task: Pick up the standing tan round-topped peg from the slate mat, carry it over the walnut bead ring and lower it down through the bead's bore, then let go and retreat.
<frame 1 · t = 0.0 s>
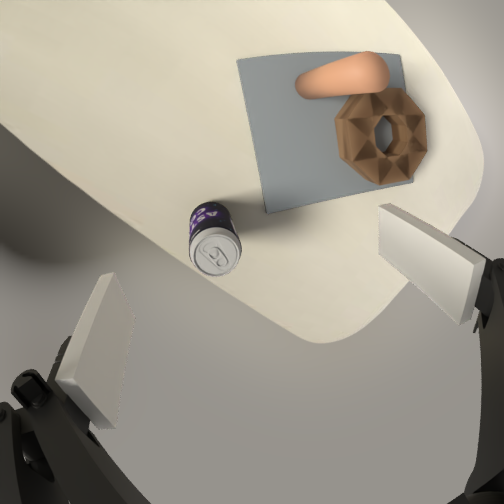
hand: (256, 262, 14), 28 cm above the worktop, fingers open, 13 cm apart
mat: (339, 123, 39), on the worktop
tan round-topped peg: (308, 85, 35), point 1 cm above the worktop, touching mat
bead: (376, 133, 40), resting on mat
beverage can: (210, 219, 42), on the worktop
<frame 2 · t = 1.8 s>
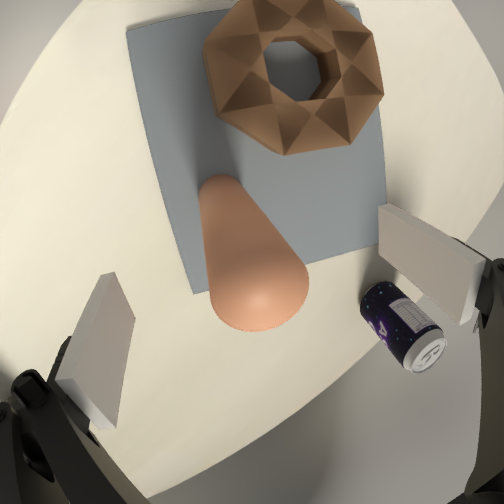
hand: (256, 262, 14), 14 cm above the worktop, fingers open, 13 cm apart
mat: (276, 138, 25), on the worktop
tan round-topped peg: (221, 196, 26), point 1 cm above the worktop, touching mat
bead: (287, 71, 22), resting on mat
beverage can: (374, 296, 36), on the worktop
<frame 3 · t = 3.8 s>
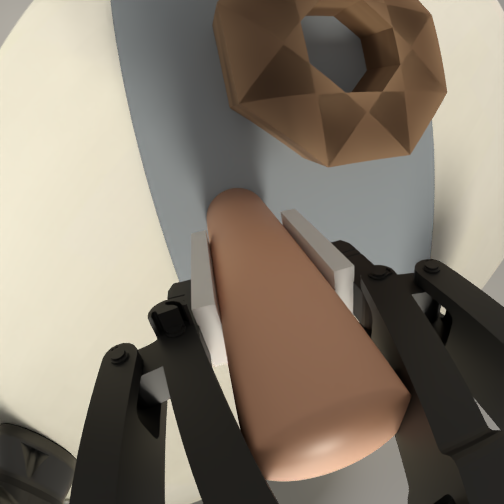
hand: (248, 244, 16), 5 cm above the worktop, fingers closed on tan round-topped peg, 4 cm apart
mat: (310, 140, 19), on the worktop
tan round-topped peg: (236, 217, 20), point 1 cm above the worktop, touching gripper, mat
bead: (326, 54, 16), resting on mat
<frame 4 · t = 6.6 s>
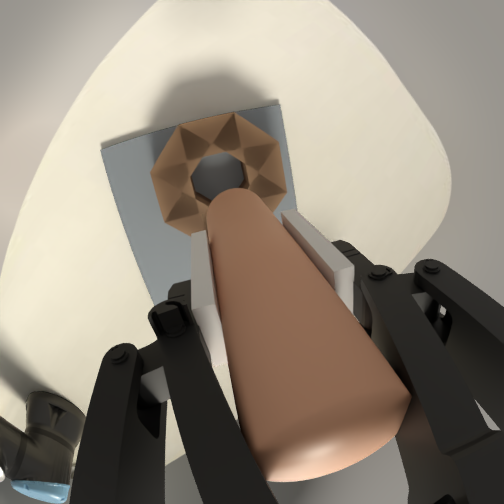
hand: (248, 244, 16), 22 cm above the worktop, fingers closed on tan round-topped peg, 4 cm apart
mat: (212, 223, 38), on the worktop
tan round-topped peg: (236, 217, 20), point 17 cm above the worktop, touching gripper
bead: (217, 175, 35), resting on mat
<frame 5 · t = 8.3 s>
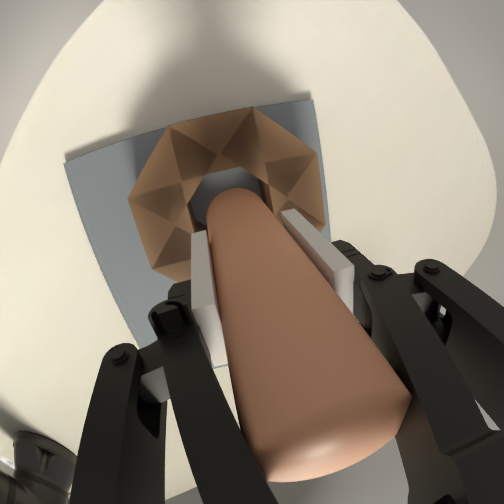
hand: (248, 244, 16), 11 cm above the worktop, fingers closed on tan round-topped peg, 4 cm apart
mat: (218, 261, 28), on the worktop
tan round-topped peg: (236, 217, 20), point 6 cm above the worktop, touching gripper
bead: (225, 197, 25), resting on mat
when the fingers open (7 cm above the worktop, at t = 9.8 s): tan round-topped peg drops 1 cm, resting on mat.
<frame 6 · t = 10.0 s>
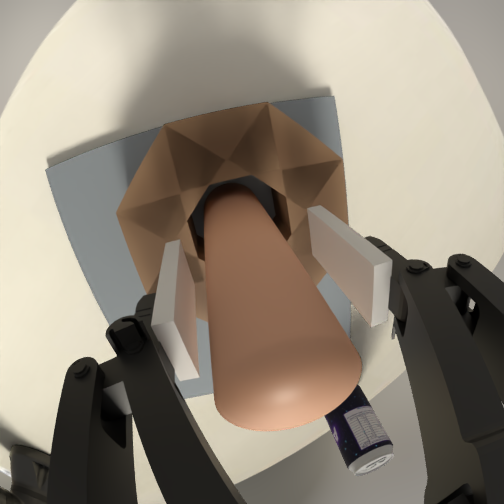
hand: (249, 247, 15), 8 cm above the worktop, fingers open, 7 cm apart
mat: (223, 281, 24), on the worktop
tan round-topped peg: (231, 209, 21), point 1 cm above the worktop, touching mat
bead: (233, 208, 21), resting on mat
beverage can: (337, 391, 35), on the worktop
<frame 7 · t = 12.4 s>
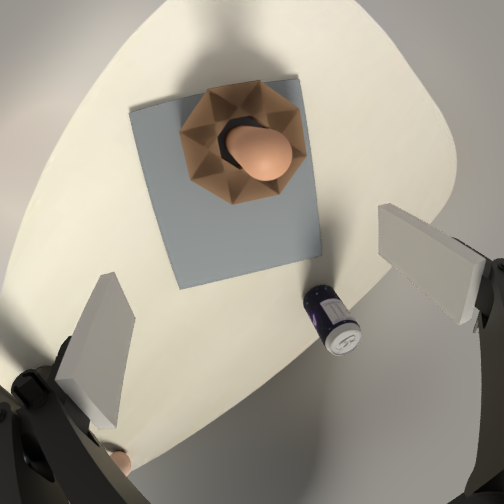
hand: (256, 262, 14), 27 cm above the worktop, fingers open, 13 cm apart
mat: (233, 186, 39), on the worktop
tan round-topped peg: (239, 140, 36), point 1 cm above the worktop, touching mat
bead: (240, 140, 36), resting on mat
egg: (120, 451, 64), on the worktop
beverage can: (317, 296, 49), on the worktop
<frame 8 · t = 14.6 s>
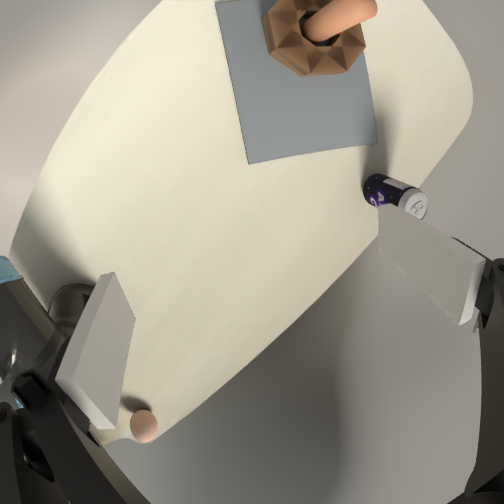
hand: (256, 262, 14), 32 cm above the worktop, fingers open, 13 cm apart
mat: (303, 70, 38), on the worktop
tan round-topped peg: (308, 34, 35), point 1 cm above the worktop, touching mat
bead: (309, 34, 35), resting on mat
egg: (144, 410, 62), on the worktop
beverage can: (373, 188, 48), on the worktop
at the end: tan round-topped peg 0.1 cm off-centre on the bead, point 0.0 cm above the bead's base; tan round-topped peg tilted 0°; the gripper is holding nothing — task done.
